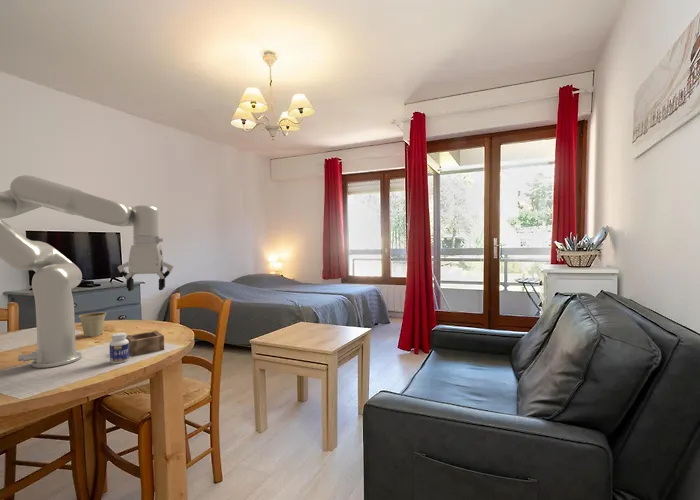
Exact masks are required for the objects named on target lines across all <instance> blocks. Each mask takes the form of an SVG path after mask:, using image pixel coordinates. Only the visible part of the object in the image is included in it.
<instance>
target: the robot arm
mask: <svg viewBox="0 0 700 500" xmlns="http://www.w3.org/2000/svg"><path fill="white" fill-rule="evenodd" d="M9 188H10V189H8V190H6V191H2V192H1V191H0V259H1V260H3V261H4V262H5V264H8V265H9V266H10V267H12V268H13V269H15V270H17V271H24V272H26V271H34V272H35V273H34V274H33V276H32V280H31V289H32V292H33V296H34V297H33V299H34V302H35V304H34V305H35V318H36V320H35V321H36V343H37V344H36V345H37V346H36V347H37V348H35V351H31V353H23V354H18V355H17V356H18V360H17V361H18V362H29V361H31V366H32V368H37V369H38V368H39V369H43V368H44V369H45V368H54V367H58V366H63V365H67V364H71V363H73V362H77V361H78V360H81V358H82V357H83V356H82V355H83V354H82V352H79V351H76V326H75V325H76V322H75V321H76V320H75V319H76V318H75V304H74V296H73V293H72V292H73V291H72V290H73V289H74V288H76V287H78V286H79V285H80V284H81V282H82V280H83V273H82V271H81V269H80V268H79V266H77V265H76V264H75V263H74V262H72V260H70V259H69V258H67V256H65V255H64V254H63V253H61V252H60V251H59V250H58V249H56V248H55V247H54V246H52V245H50V243H47V242H43V241H40V240H32V239H29V238H28V237H25V236H24V235H23V234H21V233H20V232H19V231H18V230H16V228H15V227H13V226H11V225H10V224H8V223H6V222H5V221H4V220H3V219H11V218H13V217H17V216H20V215H22V214H23V215H24V214H25V213H28V212H31V211H34V210H36V209H39V208H41V207H43V208H46V209H50V210H53V211H57V212H61V213H64V214H69V215H71V216H78V217H82V218H86V219H88V220H93V221H97V222H101V223H103V224H107V225H111V226H114V227H115V226H116V227H124V228H125V227H133V231H132V232H133V233H132V234H133V238H132V239H133V243H132V244H131V246H130V250H129V255H128V261H127V262H125V263H123V264H120V265H119V266H117V269H118V271H119V273H120V275H121V276H122V277H123V278H124V279H125V280H126V289H127V291H128V292H131V291H134V287H135V286H134V284H135V283H134V282H135V281H134V280H135V279H134V278H133V277H134V276H135V275H145V274H146V275H147V274H148V275H149V274H151V275H152V274H153V275H154V274H156V275H157V276H158V277H159V279H158V290H159V291H163V290H164V288H165V287H166V278H167V277H168V276H169V275H170V274H171V272H172V270H173V269H174V265H172V264H169V263H167V262H165V261H164V254H163V249H162V245H161V244H160V243H162V242H163V240H164V239H163V237H160V236H159V209H158V207H156V206H154V205H153V206H152V205H136V206H130V205H127V204H126V205H125V204H123V203H121V202H117V201H114V200H110V199H106V198H103V197H100V196H97V195H93V194H90V193H87V192H84V191H82V190H80V189H78V188H74V187H71V186H67V185H65V184H60V183H59V182H58V183H57V182H54V181H51V180H47V179H43V178H40V177H36V176H34V175H24V174H23V175H20V176H17V177H15V178H14V179H13V180H11V182H10V184H9ZM159 244H160V245H159ZM127 267H128V271H126V269H125V268H127ZM164 268H166V269H167V270H166V271H165V272H164Z"/></svg>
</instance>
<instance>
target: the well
mask: <svg viewBox="0 0 700 500" xmlns="http://www.w3.org/2000/svg"><path fill="white" fill-rule="evenodd" d="M126 336H127V337H126V339H127V340H128V341H129V355H130V356H132V357H134V356H139V355H145V354H149V353H153V352H159V351H163V350H165V335H164V334H162V333H161V332H159V331H158V330H152V331H146V332H145V331H144V332H140V333H134V334H128V335H127V334H126Z"/></svg>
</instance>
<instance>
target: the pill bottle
mask: <svg viewBox="0 0 700 500" xmlns="http://www.w3.org/2000/svg"><path fill="white" fill-rule="evenodd" d="M126 337H127V333H126V332H117V333H113V334H111V341H110V342H109V363H110V364H121V363H125V362H127V361H129V359H130V353H129V341H128V340H127V339H126Z"/></svg>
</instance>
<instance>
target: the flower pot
mask: <svg viewBox="0 0 700 500" xmlns="http://www.w3.org/2000/svg"><path fill="white" fill-rule="evenodd" d="M106 315H107V312H99V311H98V312H89V313H85V314H80V315H78V318H79V320H80V322H81V326H82V330H83V337H85V338H88V337H92V338H93V337H98V336H101V335H102V334H103V333H104V326H105V325H104V323H105V318H106Z"/></svg>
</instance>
